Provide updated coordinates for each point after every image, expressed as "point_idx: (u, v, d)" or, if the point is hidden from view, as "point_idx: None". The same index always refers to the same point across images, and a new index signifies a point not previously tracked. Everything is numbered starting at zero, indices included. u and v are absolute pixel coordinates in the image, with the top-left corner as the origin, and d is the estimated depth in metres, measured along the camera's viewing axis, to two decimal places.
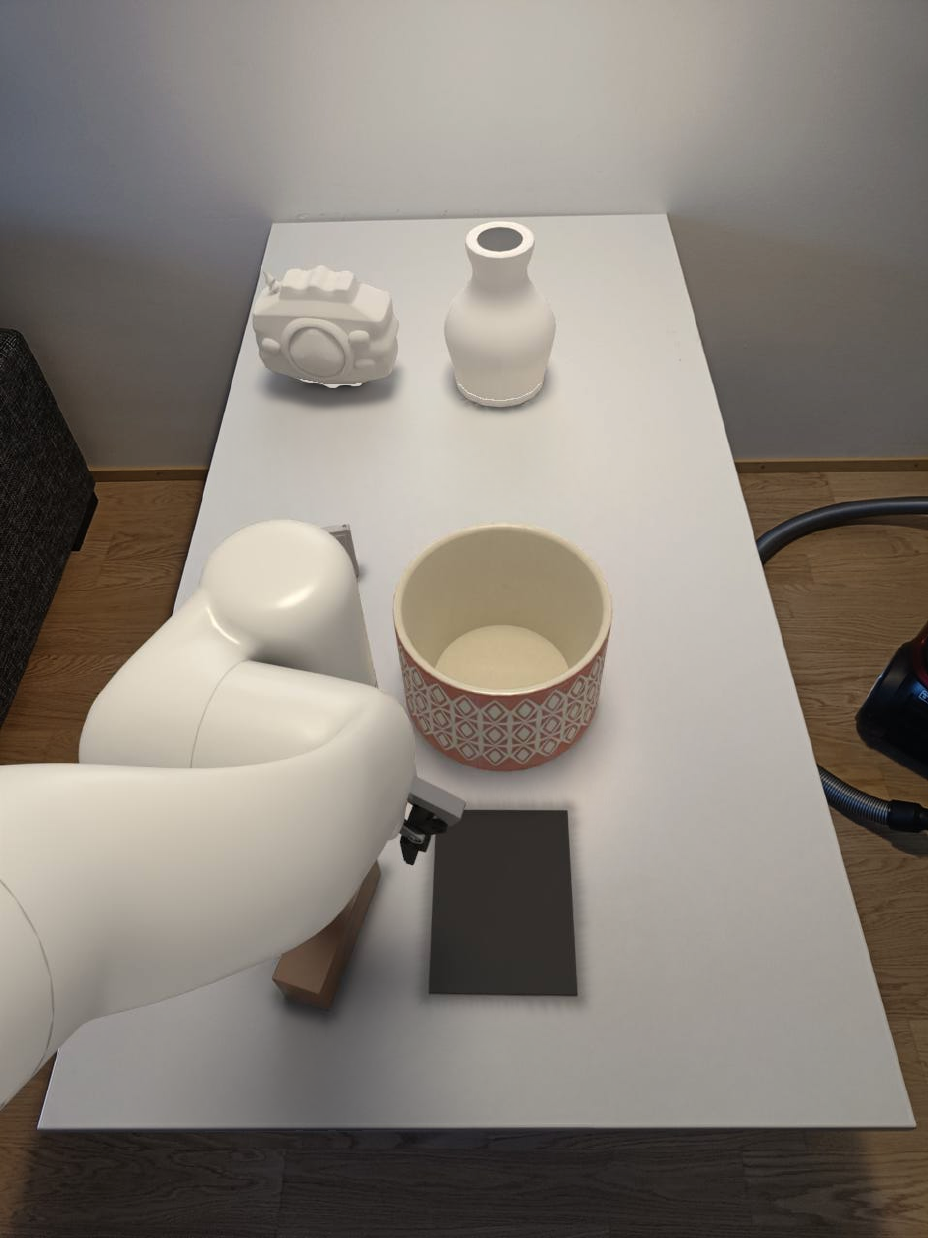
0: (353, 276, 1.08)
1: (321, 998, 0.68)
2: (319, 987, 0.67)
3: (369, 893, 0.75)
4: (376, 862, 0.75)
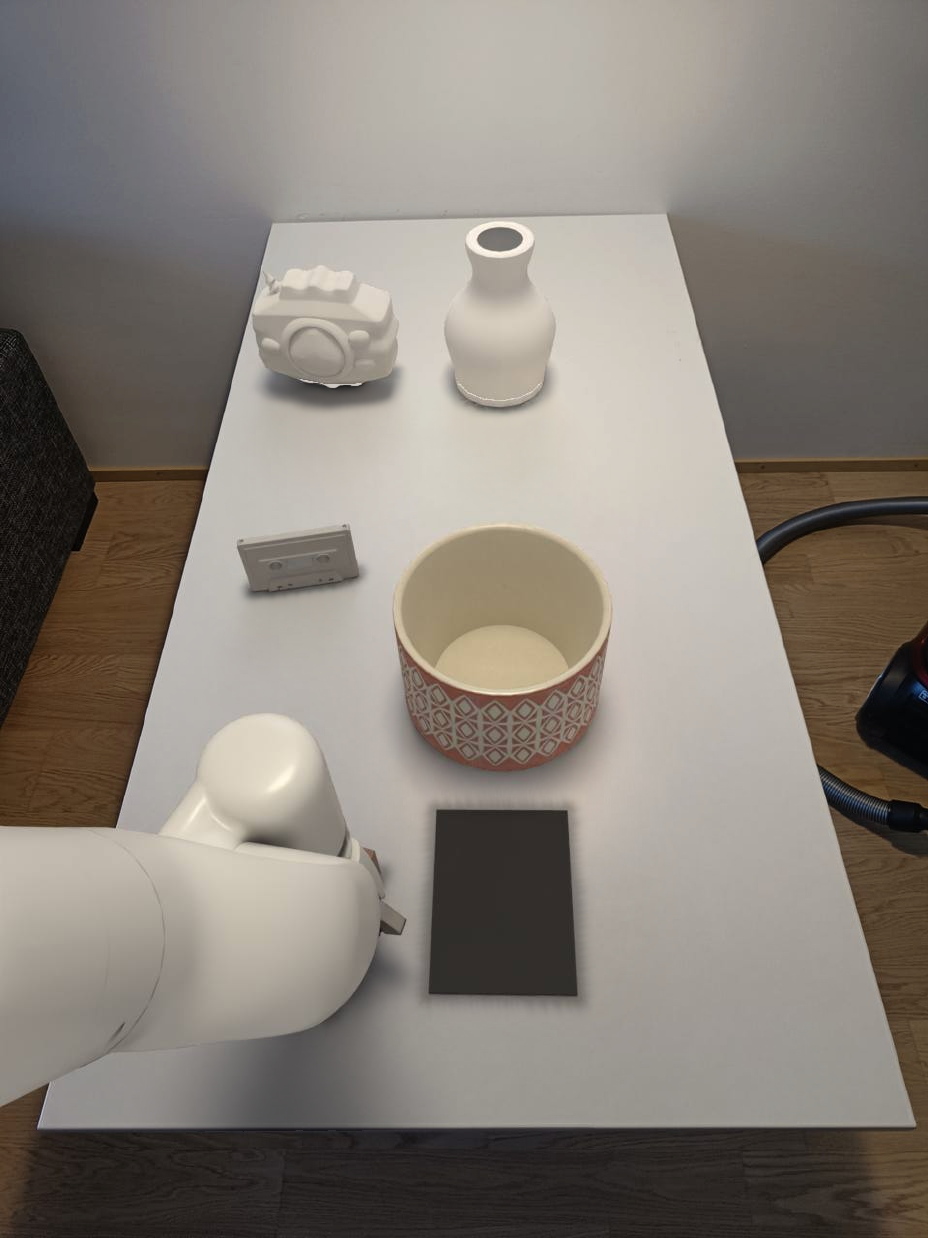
0: (353, 276, 1.08)
1: None
2: None
3: None
4: (376, 862, 0.75)
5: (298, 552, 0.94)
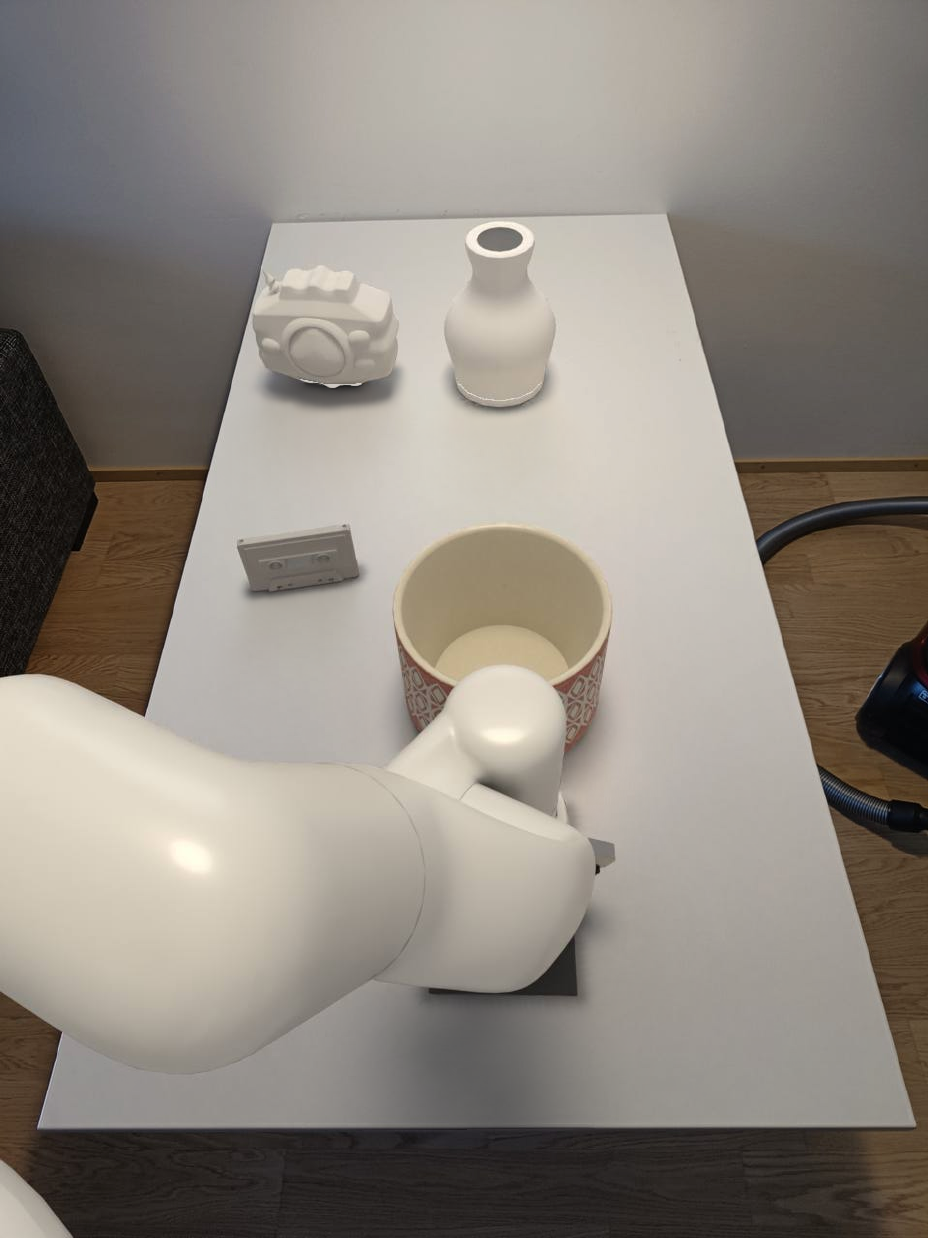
0: (353, 276, 1.08)
1: None
2: None
3: None
4: None
5: (298, 552, 0.94)
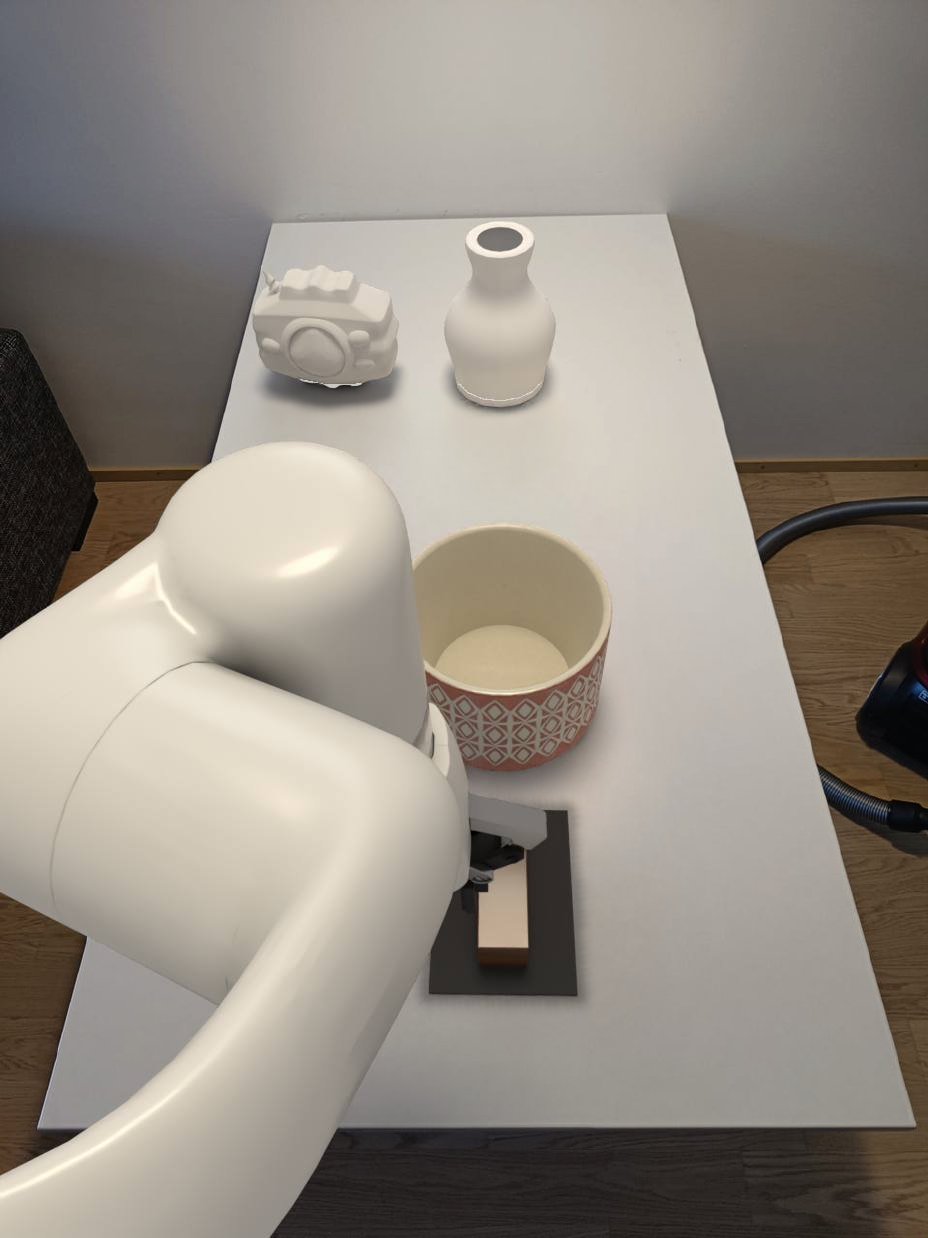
0: (353, 276, 1.08)
1: (528, 952, 0.69)
2: (526, 941, 0.69)
3: None
4: None
5: None
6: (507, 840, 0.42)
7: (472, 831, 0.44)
